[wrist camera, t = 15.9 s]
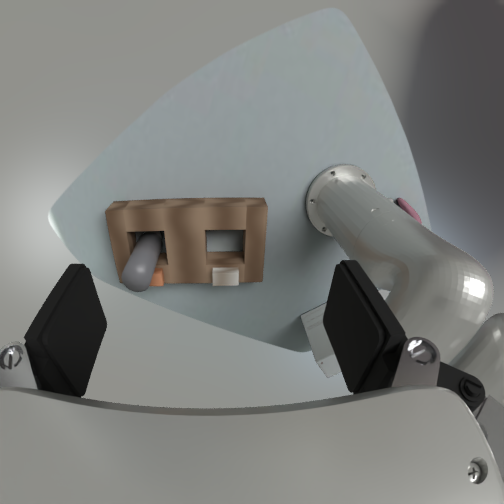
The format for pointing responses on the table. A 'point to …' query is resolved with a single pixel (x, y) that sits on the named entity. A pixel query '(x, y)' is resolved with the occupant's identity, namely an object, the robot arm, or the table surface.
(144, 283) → the charcoal plug
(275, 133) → the table surface
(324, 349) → the supplement box
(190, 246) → the socket block
